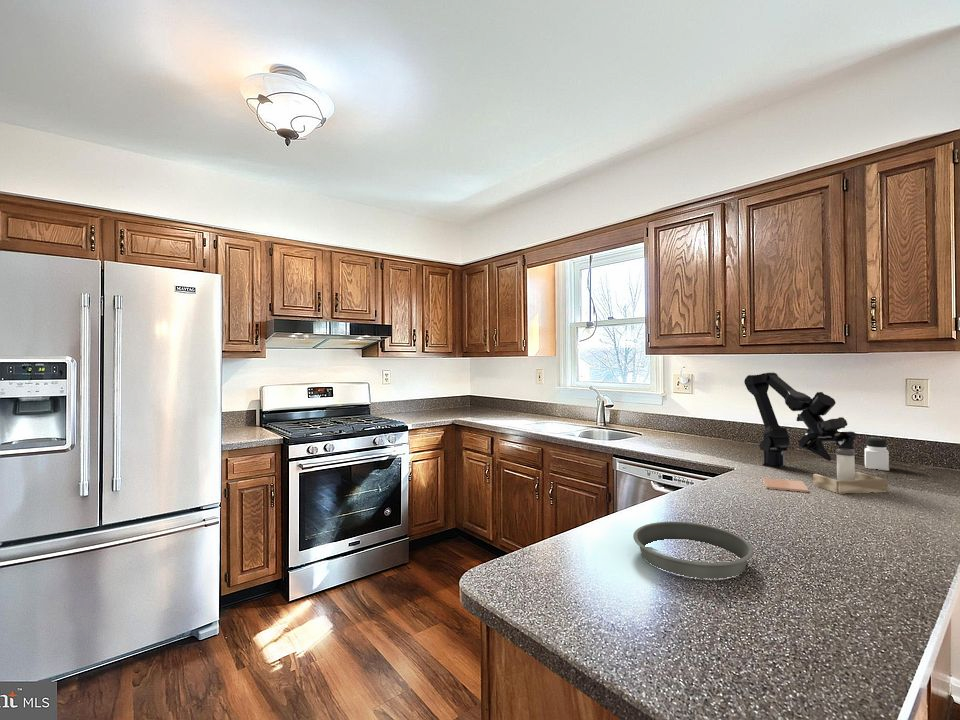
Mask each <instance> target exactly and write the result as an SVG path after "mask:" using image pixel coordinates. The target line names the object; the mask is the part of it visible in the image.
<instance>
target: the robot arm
mask: <svg viewBox="0 0 960 720" xmlns="http://www.w3.org/2000/svg"><path fill="white" fill-rule="evenodd" d="M743 383H744V386H745V387H746V390H747V391H748V392H749V393H751V395H753V397H754V400H755V403H756V406H757V408H758V410H759V411H758V412H759V414H760V416H761V419H762V423H763V427H764V430H763V433H762V436H763V440H761V442H760V443H759V444H758V446H759V449H760V450H761V451H763V463H762V466H766V465H767V466H768V467H775V468H782V467H784V466H785V465H786V456H785V454H784V452H787V451H788V449H789V445H790V442H791V441H790V435H789V433H788V430H787V428H786V427H781V425H779V423H778V420H777V417H776V414H775V411H774V409H773V405H772V403H771V400H770V398H769V394H768V392H769V387H770V388H771V389H773V390H774V391H775V392H776V393H778V394H779V396H781V397H782V398H783V399H784V403H785V405H786V406H787V407H788V409H790V411H791V412H800V413H797V416H796V422H803V423H804V425H805V426H806V427H807V428H808V429H807V430H806V433H803V435H802V436H801V437H800V438H799V440H798V444H799V446H800V447H801V449H805V450H808V451H810V452H812V453H814V454H816V455H818V456H819V457H820V458H823V459H824V460H827V461H828V462H831V461H832V457H831V455H830V454H829V452H828V451H827V449H826V448H825V446H824V445H823V443H834V444H836V445H837V446H838V448H847V449H853V450H855V449H854V445H853V443H854V442H855V440H856V439H857V438H858V435H857V434H856V432H855V431H849V430H848V431H841V432H840V433H839V434H838V435H835V434H837V433H838V432H839V430H840V429H845V428H846V427H847V426H848V421H847V419H845V418H844V417H843V416H839V417H838V418H830V419H827V420H824V418H823V417H822V416H826V415H827V414H828V413H829V412H830V410H831V409H832V408H833V407H834V406H835V405H836V400H835V399H834V398H833V397H831V396H830V395H828V394H825V393H824V392H823V391H817V392H816V393H815V394H814V396H813V397H812V398H811V397H810V396H809V395H807V394H806V393H804V392H800V391H797V390H796V389H794V388H793V387H792V386H790V385H789V383H787V382H786V381H784V379H782V378H781V377H780V376H779V375H778V373H777V372H763V373H760V374H749V375H747V376H746V377H745V379H744V381H743ZM856 459H857V455H855V460H856Z"/></svg>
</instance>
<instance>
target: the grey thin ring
mask: <svg viewBox="0 0 960 720" xmlns="http://www.w3.org/2000/svg"><path fill="white" fill-rule="evenodd" d="M632 535H633V536H632V537H633V540H634V542H635V543H636V544H637V546H638V547H639V549H640V553H641V556H643V557H644V558H645V559H646V560H647V561H648V562H649V563H651V564H652V565H654V566H656V567H658V568H661V569H663V570H666V571H669V572H673V573H676V574H680V575H684V576H689V577H697V578H710V579H711V578H713V579H714V578H727V577H732V576H736V575H738V574H741V573H742V572H743V571H744V570H746V565H747V562H748V560H750V559H751V558H752V557H753V555H754V548H753V546H752V545H751V543H749V541H748V540H746V539H744V538H743V537H741V536H740V535H738V534H735V533H733V532H730V531H728V530H726V529H723V528H719V527H716V526H712V525H708V524H701V523H696V522H690V521H689V522H687V521H660V522H652V523H648V524H644V525H642V526H640V527H638V528H637V529H636V530H635V531H634V532H633V534H632ZM664 539H689V540H695V541H700V542H705V543H709V544H712V545H715V546H718V547H721V548H724V549H726V550H729V551H730V552H732V553H734V554H736V555H737V556H738V557H740V558H741V559H738V560H735V561H730V562H719V563H707V562H695V561H687V560H682V559H677V558H673V557H669V556H668V555H665V554H662V553H661V552H658V551H656V550H654V549H651V548H648V547H645V545H646V544H648V543H651V542H653V541H657V540H664ZM643 557H642V558H643ZM644 558H643V559H644ZM649 563H648V564H649ZM744 572H745V571H744Z"/></svg>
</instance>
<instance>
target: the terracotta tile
mask: <svg viewBox="0 0 960 720" xmlns="http://www.w3.org/2000/svg"><path fill="white" fill-rule="evenodd" d="M762 481H763V484H764V487H765V486H766V487H765V489H766V488H769V489H768V490H775V489H778V490H777V491H786V490H790V491H789V492H796V491H800V492H799V493H807V492H809V493H810V490H809V489H808V487H807V486H806V484H805V483H804V481H801V480H791V479H789V480H788V479H779V478H767V477H766V478H765V477H763V478H762Z"/></svg>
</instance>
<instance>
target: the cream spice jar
mask: <svg viewBox="0 0 960 720" xmlns="http://www.w3.org/2000/svg"><path fill="white" fill-rule="evenodd" d="M853 449H854V448H853ZM853 449H847V448H835V453H836V480H839V481H848V480H855V472H856V471H855V470H856V469H855V464H856V463H855V460H856V459H855V456H856V450H855V449H854V450H853Z"/></svg>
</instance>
